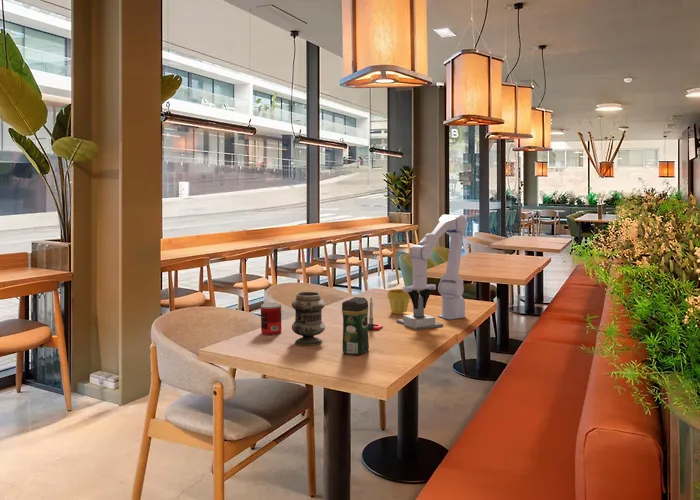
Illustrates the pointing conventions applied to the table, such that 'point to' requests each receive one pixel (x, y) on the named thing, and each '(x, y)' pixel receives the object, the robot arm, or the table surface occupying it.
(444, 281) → the robot arm
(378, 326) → the tow hook
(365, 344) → the coffee jar
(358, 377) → the table surface
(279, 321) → the canned food
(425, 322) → the bracket fixture
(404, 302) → the plant pot
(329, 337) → the table surface
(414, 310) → the pin
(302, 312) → the apothecary jar
